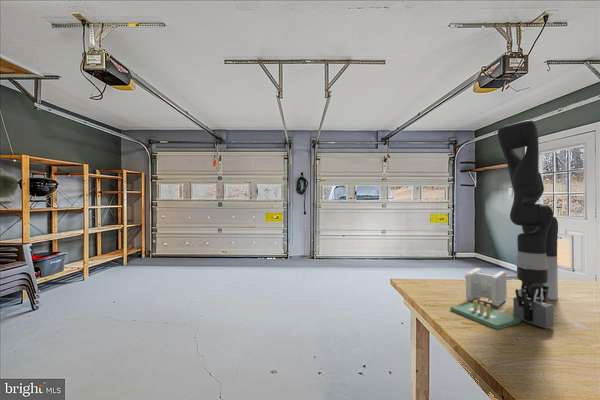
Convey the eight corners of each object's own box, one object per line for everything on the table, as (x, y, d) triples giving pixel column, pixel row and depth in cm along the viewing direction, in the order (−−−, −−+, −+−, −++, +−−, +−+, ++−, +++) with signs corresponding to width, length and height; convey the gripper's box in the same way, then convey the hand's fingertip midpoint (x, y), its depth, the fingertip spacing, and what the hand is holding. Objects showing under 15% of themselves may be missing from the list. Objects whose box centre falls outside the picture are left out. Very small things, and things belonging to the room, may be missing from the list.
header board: (473, 305, 103) (472, 292, 103) (520, 322, 88) (520, 307, 88) (450, 310, 98) (450, 297, 98) (497, 329, 84) (497, 314, 84)
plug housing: (521, 315, 92) (521, 295, 92) (553, 325, 84) (553, 304, 84) (513, 317, 90) (513, 297, 90) (545, 328, 82) (545, 306, 82)
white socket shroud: (496, 310, 98) (496, 278, 98) (464, 302, 106) (464, 272, 106) (507, 300, 108) (507, 270, 108) (477, 293, 116) (476, 266, 116)
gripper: (531, 261, 93) (532, 311, 93) (505, 265, 88) (506, 318, 88) (558, 266, 86) (559, 319, 86) (532, 271, 81) (533, 328, 81)
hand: (532, 318), depth 87 cm, fingers closed on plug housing, 4 cm apart
